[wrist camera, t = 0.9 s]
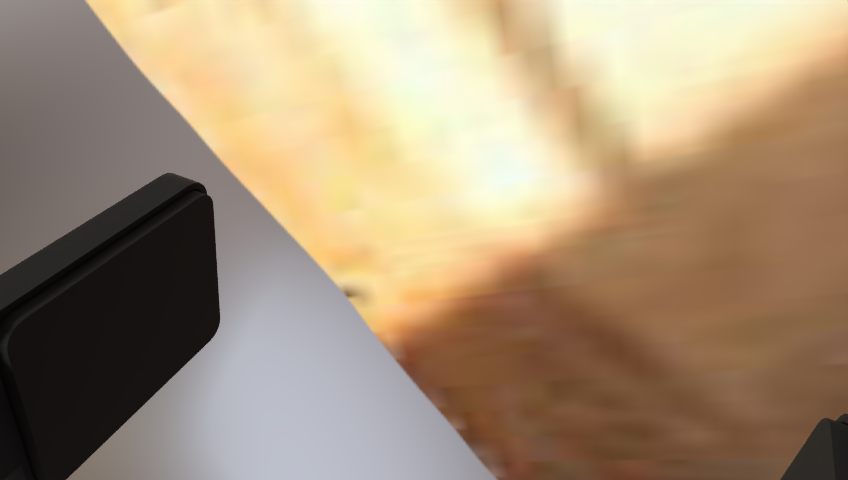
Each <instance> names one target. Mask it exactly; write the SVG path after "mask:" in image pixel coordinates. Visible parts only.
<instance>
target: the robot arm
mask: <svg viewBox="0 0 848 480" xmlns="http://www.w3.org/2000/svg"><path fill="white" fill-rule="evenodd" d="M219 323H220V309H219V294H218V277H217V261H216V243H215V227H214V210H213V201H212V199H211V197H210V196H208V195H207V191H206V189H205V187H204V186H203V185H202V184H200V183H199V182H195V181H193V180H190V179H187V178H184V177H182V176H179V175H176V174H173V173H167V174H164V175H162V176H160V177H158V178H157V179H155V180H153V181H152V182H150V183H149V184H147V185H145V186H144V187H142V188H141V189H139V190H137V191H136V192H134V193H133V194H131V195H129V196H128V197H126V198H124V199H123V200H121V201H120V202H118V203H116V204H115V205H113V206H111V207H110V208H108V209H106V210H105V211H103V212H102V213H100V214H98V215H97V216H95V217H94V218H92V219H90V220H89V221H87V222H85V223H84V224H82V225H81V226H79V227H77V228H76V229H75V230H72V231H71V232H69V233H68V234H66V235H64V236H63V237H61V238H60V239H58V240H56V241H55V242H53V243H51V244H50V245H48V246H47V247H45V248H43V249H42V250H40V251H38V252H37V253H35V254H34V255H32V256H30V257H29V258H27V259H25V260H24V261H22V262H21V263H19V264H17V265H16V266H14V267H13V268H11V269H9V270H8V271H6V272H5V273H3V274H1V275H0V480H66V479H67V478H68V477H69V476H70V475H71V474H72V473H73V472H74V471H75V470H77V469H78V468H79V467H80V466H81V465H82V464H83V463H84V462H85V461H86V460H87V459H88V458H89V457H90V456H91V455H92V454H93V453H94V452H95V451H96V450H97V449H98V448H99V447H100V446H101V445H102V444H103V443H105V442H106V441H107V440H108V439H109V438H110V437H111V436H112V435H113V434H114V433H115V432H116V431H117V430H118V429H119V428H120V427H121V426H122V425H123V424H124V423H125V422H126V421H127V420H128V419H129V418H130V417H131V416H132V415H133V414H134V413H136V412H137V411H138V410H139V409H140V408H141V407H142V406H143V405H144V404H145V403H146V402H147V401H148V400H149V399H150V398H151V397H152V396H153V395H154V394H155V393H156V392H157V391H158V390H159V389H160V388H162V387H163V385H165V384H166V382H168V381H169V380H170V379H171V378H172V377H173V376H174V375H175V374H176V373H177V372H178V371H179V370H180V369H181V368H182V367H183V366H184V365H185V364H186V363H187V362H188V361H190V359H192V358H193V357H194V356H195V355H196V354H197V353H198V352H199V351H200V350H201V349H202V348H203V347H204V346H205V345H206V344H207V343H208V342H209V341H210V340H211V339H212V338H213V337H214V335H215V333H216V332H217V329H218V327H219ZM781 480H848V414H843V415H842V416H840V417H839V418H838V419H837V421H833V420H831V419H828V418H824V419H822V420H821V421H820V422H819V423H818V425H817V426H816V428H815V429H814V431H813V432H812V434H811V435H810V437H809V438H808V439H807V441H806V442H805V444H804V445H803V447H802V448H801V450H800V451H799V453H798V454H797V456H796V457H795V459H794V460H793V462H792V463H791V465H790V466H789V468H788V469H787V471H786V472H785V474H784V475H783V477H782V478H781Z"/></svg>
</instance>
